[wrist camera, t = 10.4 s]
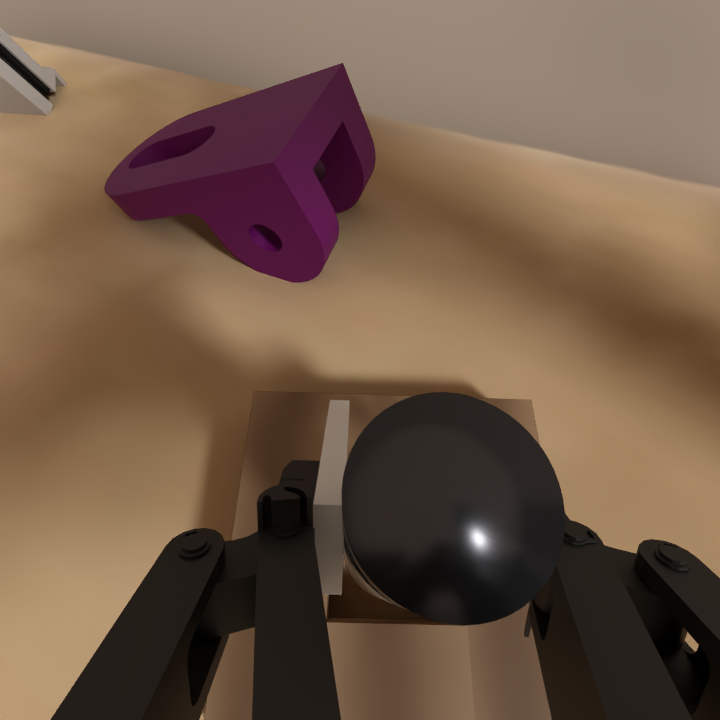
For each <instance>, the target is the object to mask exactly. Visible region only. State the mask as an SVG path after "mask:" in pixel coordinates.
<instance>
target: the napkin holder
mask: <svg viewBox="0 0 720 720" xmlns="http://www.w3.org/2000/svg"><path fill="white" fill-rule="evenodd" d="M56 86H66V82H65V81H64V80H63V78H62V77H61V76H60V75H59V74H58V73H57V71H56V70H55V69H54V68H52V67H41V66H40V65H39V64H38V63H37V62H36V61H34V60H33V59H32V58H31V57H30V56H29V55H28V54H27V53H26V52H25V51H24V50H23V49H22V48H21V47H20V46H19V45H18V44H17V43H16V42H15V41H14V40H13V39H12V38H10V37H9V36H8V35H7V34H6V33H5V32H4V31H3V30H2V29H1V28H0V113H14V114H32V115H48V114H49V113H50V112H51V110H52V108H53V104H52V103H51V102H49V101H48V100H49V98H48V97H47V96H45V95H44V94H50V92H56ZM43 93H44V94H43Z"/></svg>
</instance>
